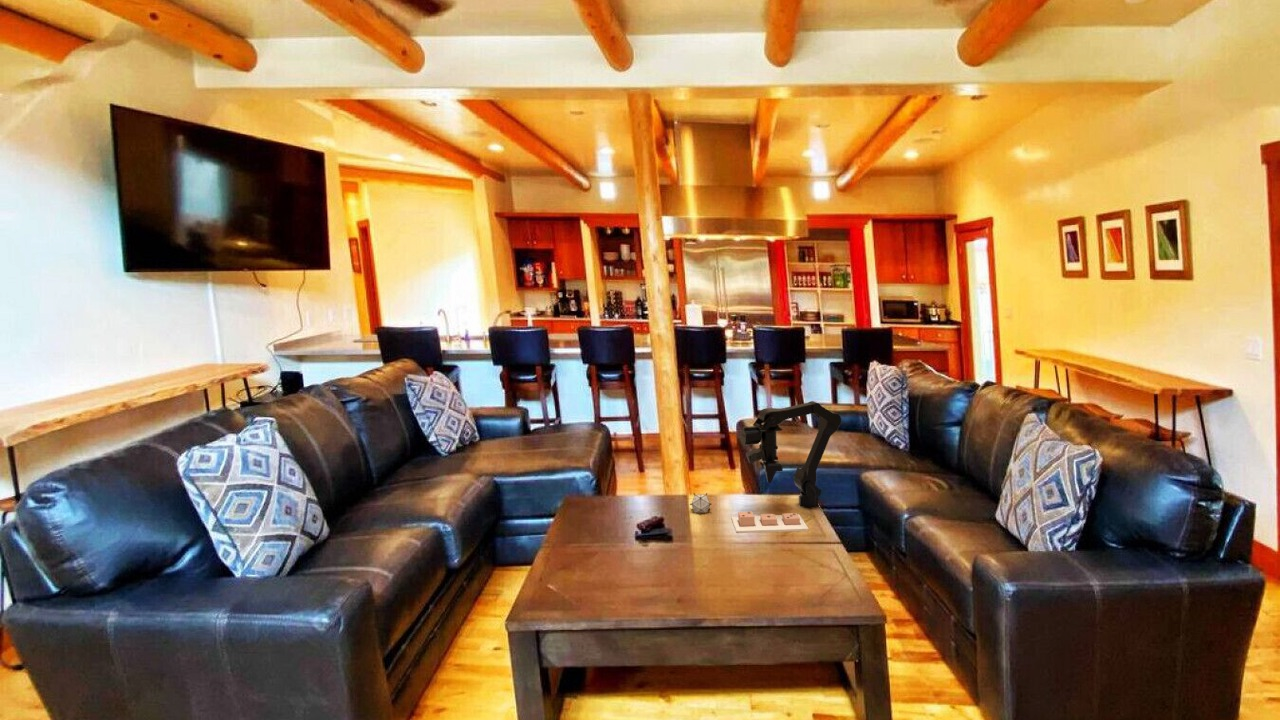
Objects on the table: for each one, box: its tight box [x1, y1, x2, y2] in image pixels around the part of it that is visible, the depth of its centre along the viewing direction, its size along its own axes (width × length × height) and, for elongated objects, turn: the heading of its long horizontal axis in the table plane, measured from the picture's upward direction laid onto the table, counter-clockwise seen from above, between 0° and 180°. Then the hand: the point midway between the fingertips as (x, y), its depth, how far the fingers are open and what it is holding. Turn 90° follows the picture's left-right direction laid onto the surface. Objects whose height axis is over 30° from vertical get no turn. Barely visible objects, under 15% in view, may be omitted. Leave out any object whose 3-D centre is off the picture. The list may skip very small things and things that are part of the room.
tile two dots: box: [737, 511, 755, 527], centre depth 216 cm, size 5×5×4 cm
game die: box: [689, 492, 713, 514], centre depth 231 cm, size 9×8×10 cm
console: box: [730, 513, 810, 534], centre depth 216 cm, size 25×13×2 cm, turn 89°
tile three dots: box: [782, 512, 800, 525], centre depth 216 cm, size 5×5×4 cm
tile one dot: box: [759, 513, 777, 526], centre depth 216 cm, size 5×5×4 cm
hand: (769, 482), depth 229 cm, fingers closed
